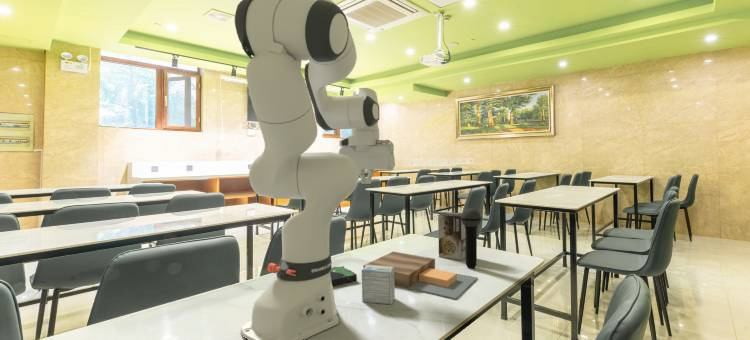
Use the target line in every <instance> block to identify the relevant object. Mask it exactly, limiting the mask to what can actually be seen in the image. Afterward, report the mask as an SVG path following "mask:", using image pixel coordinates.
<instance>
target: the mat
mask: <svg viewBox="0 0 750 340" xmlns="http://www.w3.org/2000/svg"><path fill="white" fill-rule="evenodd" d="M477 280H478V277H476V276H471V275H466V274H460V273H457V280H456V281H455V282H454V283H452V284H451V285H450V286H448V287H443V286H438V285H434V284H430V283H425V282H421V281H417V282H416V283H414V284H413V285H411V286H410V287H409V289H408V290H413V291H416V292H421V293H425V294H430V295H435V296H439V297H443V298H447V299H451V300H457V299H458V298H459V297H461V296H462V294H464V292H466V291H467V290H468V289H469V288H470V287H471V286H472V285H473V284H474V283H475V282H476V281H477Z"/></svg>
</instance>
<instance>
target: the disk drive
mask: <svg viewBox="0 0 750 340" xmlns="http://www.w3.org/2000/svg"><path fill="white" fill-rule="evenodd" d="M330 276H331V281H332V286H333V288H334V287H339V286H343V285H347V284H348V285H349V284H351V283H356V282H357V281H358V276H357V273H355V272H353V271H352V270H351V269H348V268H346V267H345V266H343V265H342V266H334V267H332V269H331V271H330Z"/></svg>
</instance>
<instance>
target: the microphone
mask: <svg viewBox="0 0 750 340" xmlns="http://www.w3.org/2000/svg"><path fill="white" fill-rule="evenodd" d="M461 213H462V215H461V221H462V223H463V224H464V225H465V229H466V230H465V258H464V259H465V265H466V267H467V269H469V270H473V269H475V268H476V266H477V260H478V258H477V257H478V255H477V253H478V252H477V250H478V249H477V247H478V246H477V241H478V240H477V238H478V234H477V230H478V226H479V225H480V223H481V221H482V216H481V214H480V212H479V211H478V210H477V209H475V208H467V209H465V210H463V212H461Z"/></svg>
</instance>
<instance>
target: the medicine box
mask: <svg viewBox="0 0 750 340" xmlns="http://www.w3.org/2000/svg"><path fill="white" fill-rule="evenodd" d="M395 289H396V288H395V285H394V267H390V266H376V265H366V266H365V267H364V268H363V267H362V270H361V297H362V298H361V299H362V300H361V301H362V302H364V303H374V304H382V305H392V304H393V302H394V300H395V297H396V295H395V294H396V292H395V291H396V290H395Z"/></svg>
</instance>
